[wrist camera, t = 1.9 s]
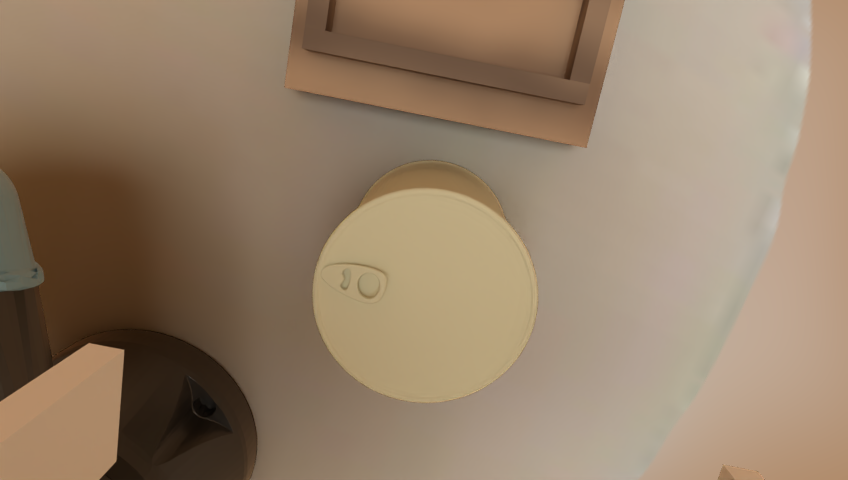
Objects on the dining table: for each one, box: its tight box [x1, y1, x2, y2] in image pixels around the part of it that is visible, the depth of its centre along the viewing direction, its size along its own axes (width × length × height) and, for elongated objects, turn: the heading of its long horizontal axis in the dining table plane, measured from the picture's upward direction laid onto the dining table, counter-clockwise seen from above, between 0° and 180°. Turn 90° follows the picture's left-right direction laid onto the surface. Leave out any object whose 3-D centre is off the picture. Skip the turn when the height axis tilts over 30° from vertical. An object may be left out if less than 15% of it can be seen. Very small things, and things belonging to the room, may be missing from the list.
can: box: [312, 160, 538, 403], centre depth 28 cm, size 9×9×12 cm
